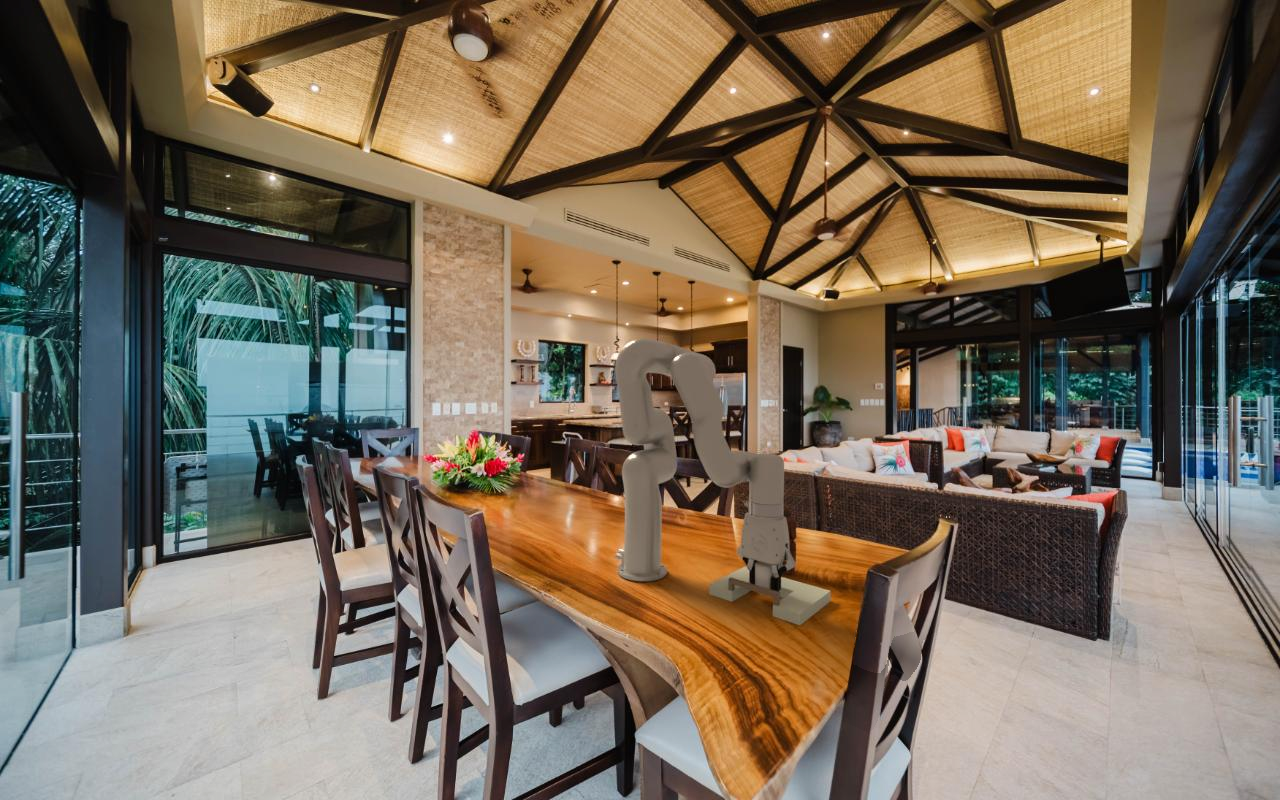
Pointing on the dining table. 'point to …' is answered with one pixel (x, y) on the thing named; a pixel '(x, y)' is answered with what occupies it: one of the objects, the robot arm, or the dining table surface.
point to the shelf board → (775, 595)
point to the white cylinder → (763, 574)
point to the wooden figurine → (790, 536)
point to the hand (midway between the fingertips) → (764, 589)
